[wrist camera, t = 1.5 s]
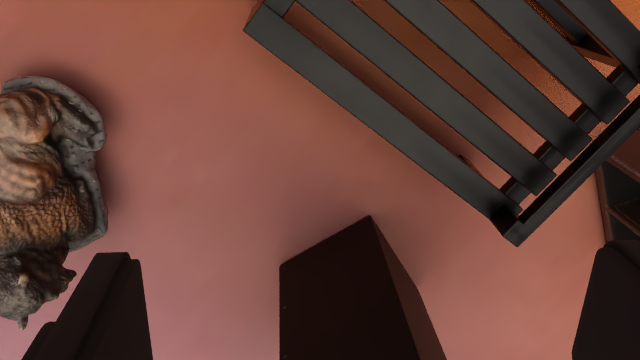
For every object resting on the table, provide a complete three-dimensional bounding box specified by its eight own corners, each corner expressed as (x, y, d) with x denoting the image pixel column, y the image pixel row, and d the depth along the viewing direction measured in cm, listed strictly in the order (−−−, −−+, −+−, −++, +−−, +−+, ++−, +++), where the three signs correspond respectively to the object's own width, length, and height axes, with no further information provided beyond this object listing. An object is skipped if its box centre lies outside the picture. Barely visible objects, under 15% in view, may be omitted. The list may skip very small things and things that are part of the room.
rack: (250, 12, 33) (239, 37, 24) (378, -168, 30) (423, -220, 21) (460, 176, 38) (517, 247, 29) (588, 38, 35) (698, 69, 26)
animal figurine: (-9, 69, 33) (-119, 115, 24) (109, 69, 34) (45, 115, 24) (29, 241, 38) (-51, 336, 29) (132, 239, 38) (86, 331, 29)
